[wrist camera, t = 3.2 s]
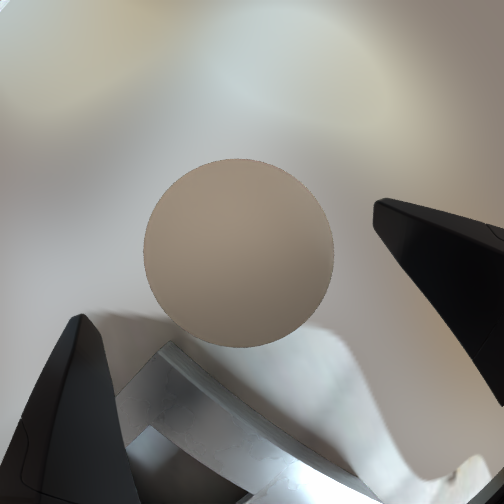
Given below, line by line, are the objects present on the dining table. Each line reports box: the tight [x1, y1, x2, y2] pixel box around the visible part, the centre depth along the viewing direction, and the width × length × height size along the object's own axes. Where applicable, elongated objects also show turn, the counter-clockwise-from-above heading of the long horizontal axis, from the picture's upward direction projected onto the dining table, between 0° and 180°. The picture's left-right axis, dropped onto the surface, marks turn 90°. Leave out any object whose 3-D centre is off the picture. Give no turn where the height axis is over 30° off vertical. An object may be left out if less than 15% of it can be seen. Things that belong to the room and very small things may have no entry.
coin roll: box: [143, 159, 334, 348], centre depth 12 cm, size 4×4×10 cm
